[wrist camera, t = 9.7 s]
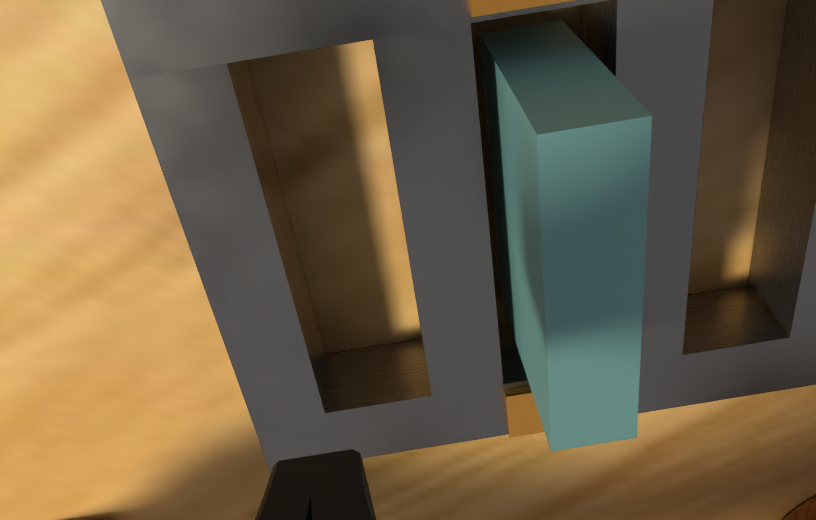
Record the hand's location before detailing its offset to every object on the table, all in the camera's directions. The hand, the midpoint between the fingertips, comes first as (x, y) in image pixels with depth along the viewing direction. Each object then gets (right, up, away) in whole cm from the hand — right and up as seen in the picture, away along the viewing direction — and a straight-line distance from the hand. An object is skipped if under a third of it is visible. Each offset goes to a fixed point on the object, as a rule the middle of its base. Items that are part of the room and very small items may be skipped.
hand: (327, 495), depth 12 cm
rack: (+5, +6, +8) cm, 11 cm away
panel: (+5, +6, +8) cm, 11 cm away
